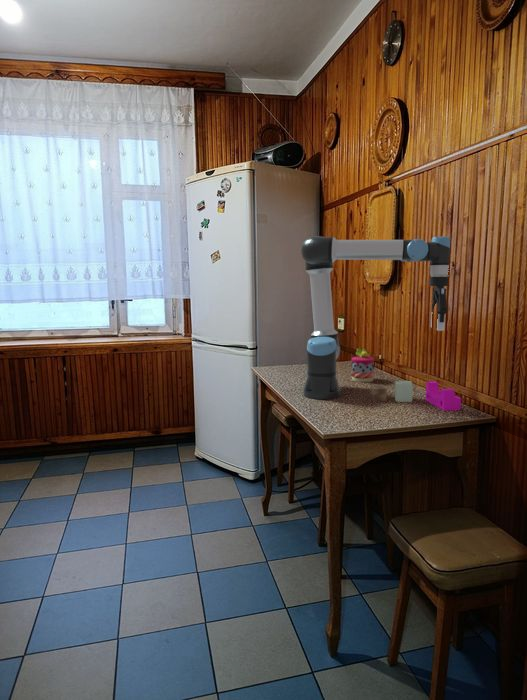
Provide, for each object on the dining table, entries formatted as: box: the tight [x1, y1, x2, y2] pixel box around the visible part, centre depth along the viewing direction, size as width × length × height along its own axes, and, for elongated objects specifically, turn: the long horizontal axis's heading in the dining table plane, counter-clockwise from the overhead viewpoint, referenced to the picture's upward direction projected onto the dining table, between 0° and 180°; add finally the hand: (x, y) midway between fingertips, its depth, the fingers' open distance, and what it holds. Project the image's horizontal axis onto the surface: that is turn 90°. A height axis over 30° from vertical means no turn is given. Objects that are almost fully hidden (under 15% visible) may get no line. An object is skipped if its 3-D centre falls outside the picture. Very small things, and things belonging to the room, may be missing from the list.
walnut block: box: [370, 385, 388, 402], centre depth 183 cm, size 5×5×5 cm
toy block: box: [425, 381, 462, 411], centre depth 174 cm, size 15×6×8 cm, turn 5°
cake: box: [350, 348, 375, 383], centre depth 217 cm, size 10×11×15 cm
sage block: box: [394, 380, 414, 403], centre depth 182 cm, size 6×6×7 cm
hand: (437, 329), depth 190 cm, fingers open, 13 cm apart
